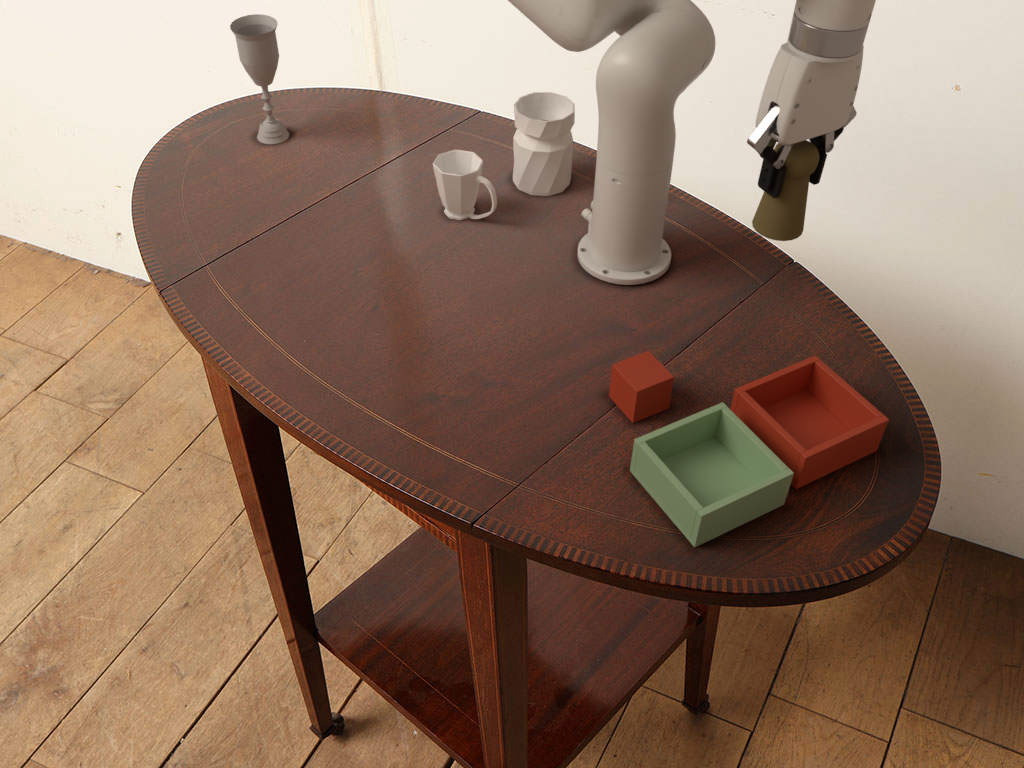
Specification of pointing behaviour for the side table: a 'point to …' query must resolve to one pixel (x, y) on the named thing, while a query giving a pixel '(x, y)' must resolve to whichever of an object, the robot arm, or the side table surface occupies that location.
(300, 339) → the side table surface
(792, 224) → the olive brown pawn
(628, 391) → the rust block
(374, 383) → the side table surface
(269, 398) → the side table surface
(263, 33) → the chalice
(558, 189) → the vase
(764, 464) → the sage bin
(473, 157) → the cup
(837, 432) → the rust bin
